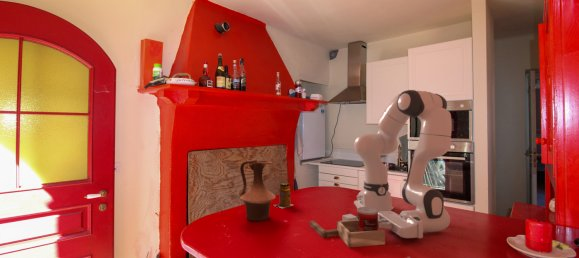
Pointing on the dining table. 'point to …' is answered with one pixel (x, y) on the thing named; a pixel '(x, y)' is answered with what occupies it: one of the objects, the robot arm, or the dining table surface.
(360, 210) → the canned food
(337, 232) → the crook tool
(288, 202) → the condiment
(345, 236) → the cubby
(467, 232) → the dining table surface
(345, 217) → the block
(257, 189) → the pitcher
